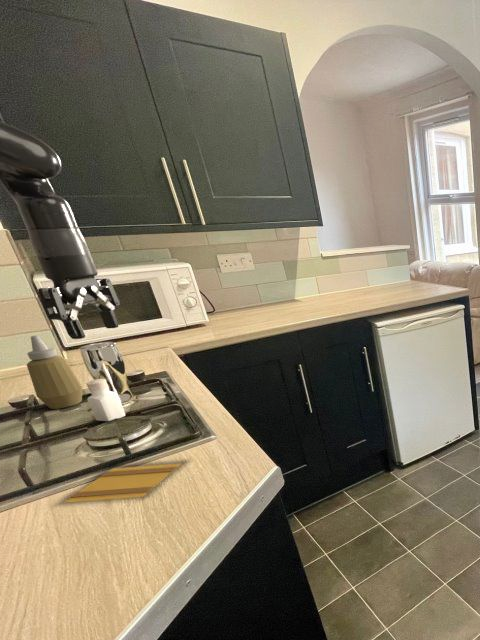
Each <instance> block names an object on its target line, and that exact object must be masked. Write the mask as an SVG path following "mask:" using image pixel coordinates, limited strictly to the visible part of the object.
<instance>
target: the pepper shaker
mask: <svg viewBox="0 0 480 640" xmlns="http://www.w3.org/2000/svg"><path fill="white" fill-rule="evenodd" d="M86 387H87V389H88V392H90V394H91V395H90V396H88V397H87V399H86V400H87V403H88V404H89V407H90V409H91V411H92V413H93V416H94V419H95V420H96V421H97V422H98V421H99V422H110V421H113V420H115V419H116V420H117V419H121V418H122V419H123V418H124V417H125V416H126V412H125V410H124V409H125V408H124V407H123V405H121V402H120V400H119V397H118V395H117V393H116V392H112V391H109V388H108V385H107V382H106V380H105V379H97V380H94V379H92V380H89V381H87V382H86Z"/></svg>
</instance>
